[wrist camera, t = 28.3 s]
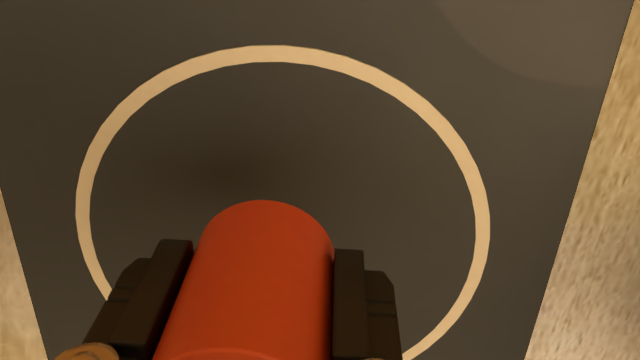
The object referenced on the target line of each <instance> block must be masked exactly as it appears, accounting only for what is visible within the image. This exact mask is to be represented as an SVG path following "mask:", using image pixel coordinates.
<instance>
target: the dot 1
mask: <svg viewBox="0 0 640 360" xmlns="http://www.w3.org/2000/svg"><path fill="white" fill-rule="evenodd" d="M333 272H334V248H333V245H332V242H331V240H330V238H329V236H328V234H327V233H326V231H325V230H324V228H323V227H322V226H321V225H320V224H319V223H318V222H317V221H316V220H315V219H314V218H313V217H312V216H310V215H309V214H307V213H306V212H304V211H303V210H301V209H299V208H297V207H295V206H292V205H289V204H286V203H283V202H278V201H271V200H253V201H246V202H242V203H238V204H236V205H233V206H231V207H229V208H227V209H225V210H223V211H222V212H220V213H219V214H217V215H216V216H215V217H214V218H213V219H212V220H211V221H210V222H209V223H208V225H207V226H206V227H205V229H204V231H203V233H202V235H201V238H200V240H199V243H198V245H197V248H196V250H195V253H194V255H193V258H192V260H191V263H190V265H189V268H188V270H187V273H186V275H185V278H184V280H183V283H182V285H181V288H180V290H179V293H178V295H177V298H176V300H175V303H174V305H173V308H172V310H171V313H170V315H169V318H168V320H167V323H166V325H165V328H164V330H163V333H162V335H161V338H160V340H159V343H158V345H157V348H156V350H155V353H154V355H153V358H152V360H331V352H332V312H333Z"/></svg>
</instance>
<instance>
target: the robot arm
mask: <svg viewBox="0 0 640 360" xmlns="http://www.w3.org/2000/svg"><path fill="white" fill-rule="evenodd" d="M193 255H194V246H193V242H192V241H191V240H175V239H161V240H160V242H159V243H158V245H157V247H156V249H155V251H154V253H153V255H152V257H151V258H137V259H136V260H135V261H134V262H133V263H131V264H130V265H129V266H128V267H126V268H125V269H124V270H123V271H122V273H121V275H120V276H119V278H118V280H117V282H116V283H115V287H114V288H113V289H112V291H111V292H110V294H109V296H108V300H106V301H105V303H104V305H103V306H102V308H101V310H100V312H99V314H98V315H97V317H96V319H95V321H94V322H93V324H92V326H91V328H90V329H89V331H88V333H87V335H86V337H85V338H84V340H83V342H82V344H80V345H76V346H74V347H71V348H69V349H67V350H65V351H64V352H62V353H61V354H59V355H58V356H57V357H56V358H55V359H54V360H152V358H153V355H154V353H155V350H156V348H157V345H158V343H159V340H160V338H161V335H162V333H163V330H164V328H165V325H166V323H167V320H168V318H169V315H170V313H171V310H172V308H173V305H174V303H175V300H176V298H177V295H178V293H179V290H180V288H181V285H182V283H183V280H184V278H185V275H186V273H187V270H188V268H189V265H190V263H191V260H192V258H193ZM331 360H403V357H402V349H401V341H400V333H399V325H398V317H397V309H396V304H395V293H394V285H393V284H392V282H391V281H390V280H389V278H388V277H387V275H386V274H385V273H384V271H372V270H365V269H364V252H363V250H356V249H338V248H335V251H334V272H333V312H332V352H331Z"/></svg>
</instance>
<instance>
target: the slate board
mask: <svg viewBox="0 0 640 360" xmlns="http://www.w3.org/2000/svg"><path fill="white" fill-rule="evenodd" d="M633 2H634V0H0V188H1V192H2V196H3V199H4V203H5V206H6V210H7V214H8V217H9V221H10V224H11V228H12V232H13V235H14V239H15V242H16V246H17V250H18V253H19V257H20V260H21V264H22V268H23V271H24V275H25V278H26V282H27V286H28V289H29V293H30V296H31V300H32V304H33V307H34V311H35V314H36V318H37V322H38V325H39V329H40V333H41V336H42V340H43V343H44V347H45V351H46V354H47V358H48V360H54V359H55V358H56V357H57V356H58V355H59V354H61V353H62V352H64V351H65V350H67V349H69V348H71V347H74V346H76V345H80V344H82V342H83V340H84V338H85V337H86V335H87V333H88V331H89V329H90V328H91V326H92V324H93V322H94V321H95V319H96V317H97V315H98V314H99V312H100V310H101V308H102V306H103V305H104V303H105V301H106V300H108V296H109V294H110V292H111V291H112V289H113V288H114V287H115V283H116V282H117V280H118V278H119V276H120V275H121V273H122V271H123V270H124V269H125V268H126V267H128V266H129V265H130V264H131V263H133V262H134V261H135V260H136V259H137V258H151V257H152V255H153V253H154V251H155V249H156V247H157V245H158V243H159V242H160V240H161V239H175V240H191V241H192V242H193V246H194V253H195V250H196V248H197V245H198V243H199V240H200V238H201V235H202V233H203V231H204V229H205V227H206V226H207V225H208V223H209V222H210V221H211V220H212V219H213V218H214V217H215V216H216V215H217V214H219V213H220V212H222V211H223V210H225V209H227V208H229V207H231V206H233V205H236V204H238V203H242V202H246V201H253V200H271V201H278V202H283V203H286V204H289V205H292V206H295V207H297V208H299V209H301V210H303V211H304V212H306V213H307V214H309V215H310V216H312V217H313V218H314V219H315V220H316V221H317V222H318V223H319V224H320V225H321V226H322V227H323V228H324V230H325V231H326V233H327V234H328V236H329V238H330V240H331V242H332V245H333V248H334V251H335V248H338V249H356V250H363V252H364V269H365V270H372V271H384V273H385V274H386V275H387V277H388V278H389V280H390V281H391V282H392V284H393V285H394V293H395V304H396V309H397V317H398V325H399V333H400V341H401V349H402V357H403V360H524V358H525V355H526V352H527V349H528V345H529V342H530V339H531V336H532V332H533V329H534V326H535V323H536V319H537V316H538V313H539V309H540V306H541V303H542V300H543V296H544V293H545V290H546V287H547V283H548V280H549V277H550V274H551V270H552V267H553V264H554V260H555V257H556V254H557V251H558V247H559V244H560V241H561V238H562V234H563V231H564V228H565V225H566V221H567V218H568V215H569V211H570V208H571V205H572V202H573V198H574V195H575V192H576V189H577V185H578V182H579V179H580V176H581V172H582V169H583V166H584V162H585V159H586V156H587V153H588V149H589V146H590V143H591V140H592V136H593V133H594V130H595V127H596V123H597V120H598V117H599V113H600V110H601V107H602V104H603V100H604V97H605V94H606V91H607V87H608V84H609V81H610V78H611V74H612V71H613V68H614V64H615V61H616V58H617V55H618V51H619V48H620V45H621V42H622V38H623V35H624V32H625V29H626V25H627V22H628V19H629V15H630V12H631V9H632V6H633Z"/></svg>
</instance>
